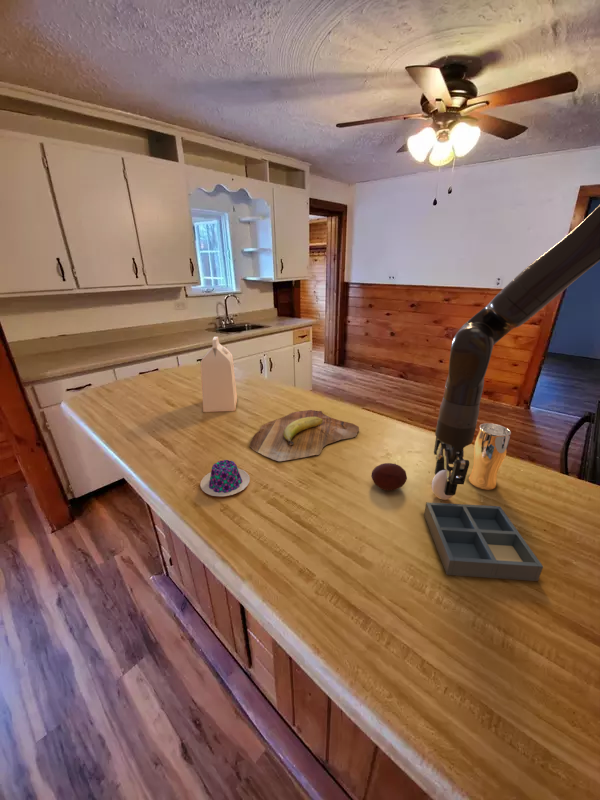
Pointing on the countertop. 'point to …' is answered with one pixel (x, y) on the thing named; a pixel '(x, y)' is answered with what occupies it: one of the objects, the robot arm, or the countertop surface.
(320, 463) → the countertop surface
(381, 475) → the potato
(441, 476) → the egg
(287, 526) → the countertop surface
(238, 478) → the pudding
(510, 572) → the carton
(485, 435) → the beer glass
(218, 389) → the milk
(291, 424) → the cutting board
